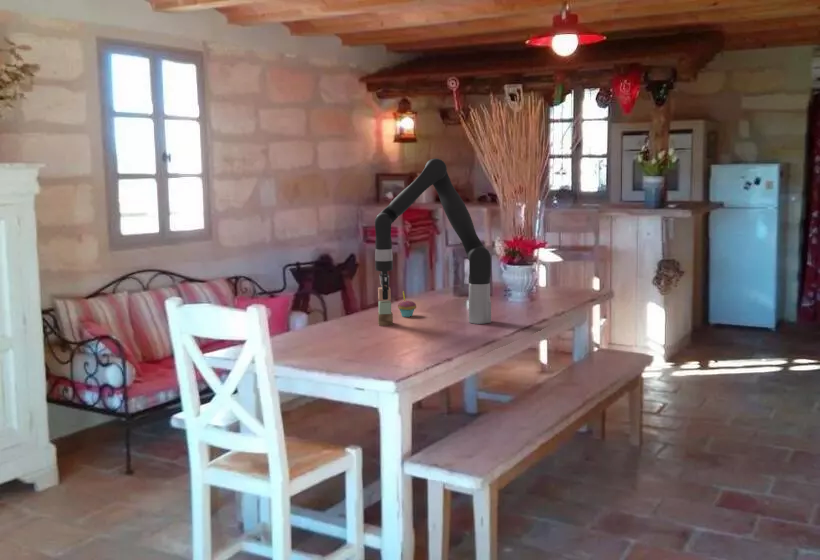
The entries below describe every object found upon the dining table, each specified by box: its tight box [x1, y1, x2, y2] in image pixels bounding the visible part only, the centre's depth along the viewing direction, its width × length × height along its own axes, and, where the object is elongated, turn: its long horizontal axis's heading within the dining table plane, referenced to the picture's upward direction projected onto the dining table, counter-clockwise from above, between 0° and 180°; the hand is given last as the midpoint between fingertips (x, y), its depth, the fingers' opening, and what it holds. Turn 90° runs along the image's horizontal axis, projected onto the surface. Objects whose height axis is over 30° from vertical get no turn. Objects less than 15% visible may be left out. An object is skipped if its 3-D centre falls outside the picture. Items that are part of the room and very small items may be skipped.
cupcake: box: [397, 291, 417, 318], centre depth 393 cm, size 9×8×12 cm
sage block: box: [377, 300, 392, 314], centre depth 374 cm, size 5×5×5 cm
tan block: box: [377, 286, 392, 301], centre depth 373 cm, size 5×5×5 cm
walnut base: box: [377, 311, 394, 327], centre depth 375 cm, size 6×6×5 cm
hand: (384, 298), depth 373 cm, fingers closed on tan block, 4 cm apart
